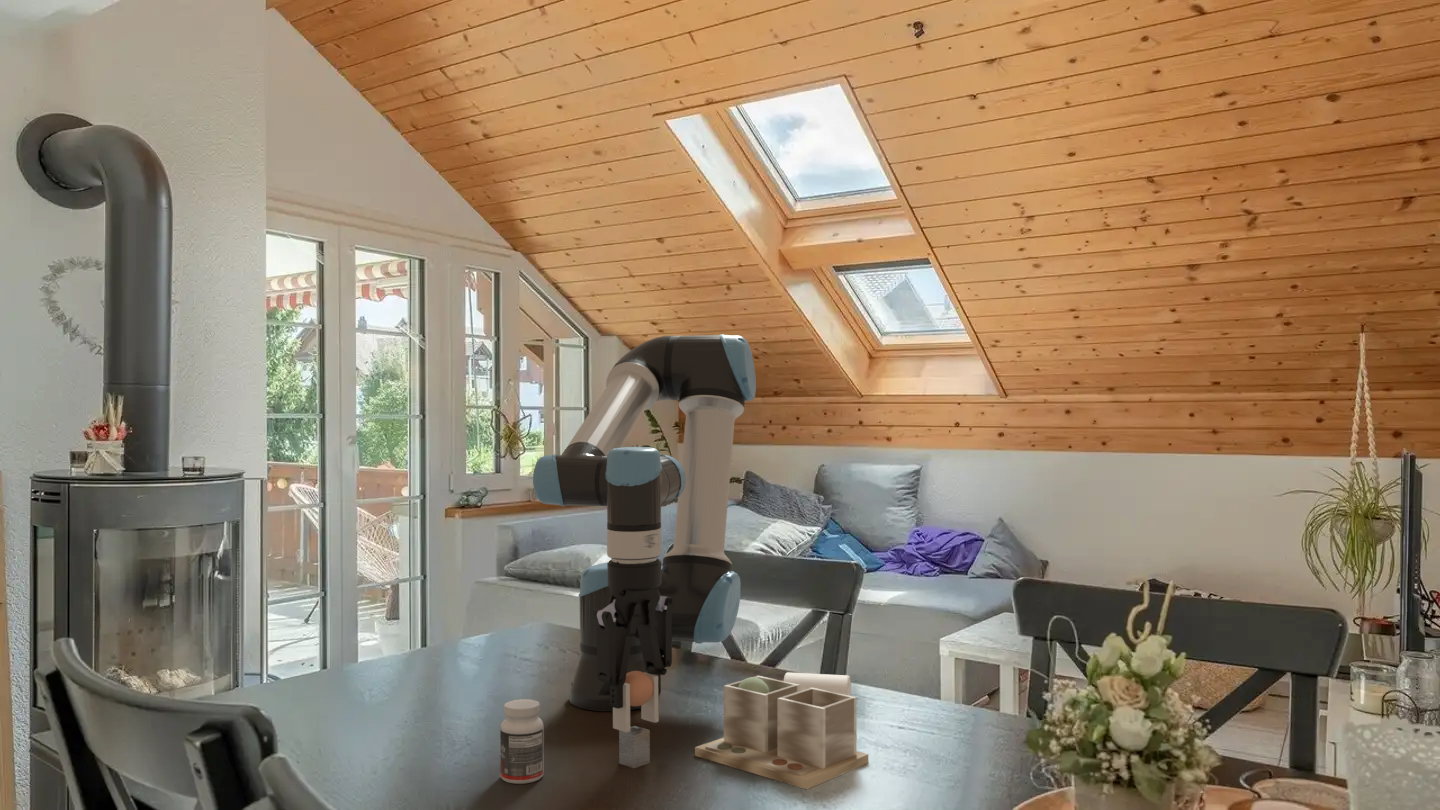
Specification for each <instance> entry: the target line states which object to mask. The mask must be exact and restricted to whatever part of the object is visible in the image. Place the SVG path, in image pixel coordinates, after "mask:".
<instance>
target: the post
mask: <svg viewBox="0 0 1440 810" xmlns="http://www.w3.org/2000/svg"><path fill="white" fill-rule="evenodd" d="M618 732H619V733H618V736H619V737H618V738H619V739H618V764H620V765H623V766H626V767H629V768H630V769H631V768H632V769H637V768H640V767H642V766H645V765H648V764H650V763H651V761H650V760H651V758H650V755H651V751H650V749H651V746H650V744H651V743H650V741H651V738H650V737H651V736H650V735H651V732H650V729H648V728H644V727H641V726H637V725H633V726H630V731H629V732H623V731H620V730H618Z"/></svg>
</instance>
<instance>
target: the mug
mask: <svg viewBox="0 0 1440 810" xmlns="http://www.w3.org/2000/svg"><path fill="white" fill-rule="evenodd" d="M782 681H785V682H790V683H794V684H799V685H800V691H802V690H805V689H808V688H811V687H812V688H817V689H821V690H826V691H830V692H835V693H840V694H844V695H849V696H852V684H851V683H852V681H851V677H850V675H848V674H845V675H844V674H841V675H840V674H828V673H827V674H825V673H808V672H807V673H805V672H785V674H784V676H783V680H782Z"/></svg>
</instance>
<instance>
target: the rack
mask: <svg viewBox="0 0 1440 810" xmlns="http://www.w3.org/2000/svg"><path fill="white" fill-rule="evenodd" d="M754 677H756V678H759V679H761V680H763V681H764V682H765V683H766V685H767V686H768V688H769V693H766V694H763V693H759V692H755V691H750V690H746V689H742V688H738V686H739V684H740V683H741V682H742V681H743V680H744V679H741V680H739V681H735V682H732V683H729V684H726V685H723V737H721V738H718V739H716V740H712V741H710V742H706V743H703V744H700V745H697V746H695V747H694V757H698V758H702V759H704V760H708V761H712V762H715V763H718V764H721V765H725V766H728V767H731V768H735V769H737V770H741V771H744V772H748V773H751V774H755V775H757V776H758V775H759V776H762V777H765V778H769V779H772V780H774V781H777V782H781V783H784V784H787V785H791V786H795V787H797V788H802V789H804V790H809V789H811V788H813V787H816V786H818V785H820V784H823V783H826V782H827V781H829V780H832V779H835V778H836V777H839V776H841V775H843V774H845V773H848V772H851V771H853V770H855V769H857V768H860V767H862V766H864V765H867V764H868V763H869V753H865V752H862V751H858V750H857V702H858V701H857V696H854V695H851V696H849V695H844V694H840V693H835V692H830V691H826V690H821V689H817V688H812V687H811V688H808V689H805V690H802V691H800V685H799V684H794V683H790V682H785V681H783V680H779V679H776V678H770V677H766V676H761V675H756V676H754Z"/></svg>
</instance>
